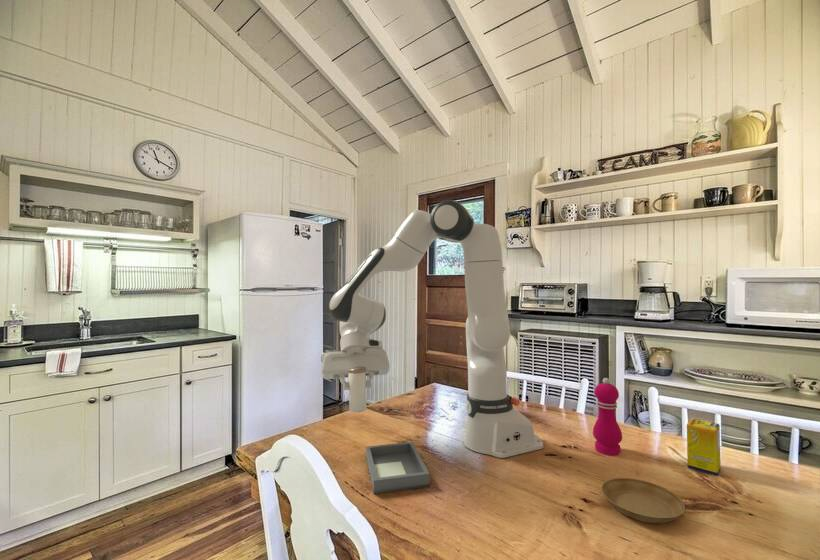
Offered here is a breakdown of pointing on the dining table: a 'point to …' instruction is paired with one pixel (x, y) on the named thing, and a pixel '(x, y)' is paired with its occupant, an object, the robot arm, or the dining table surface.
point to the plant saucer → (643, 500)
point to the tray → (396, 467)
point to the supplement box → (703, 446)
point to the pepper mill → (607, 420)
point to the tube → (357, 389)
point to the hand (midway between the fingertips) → (357, 388)
